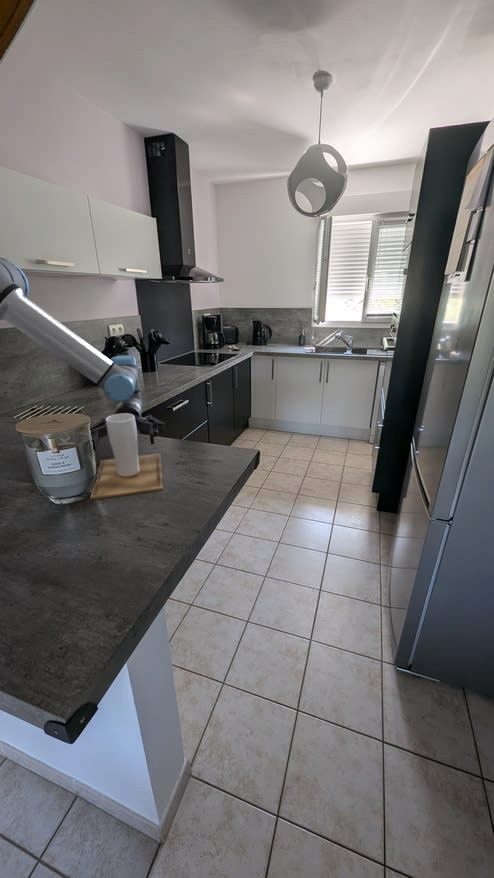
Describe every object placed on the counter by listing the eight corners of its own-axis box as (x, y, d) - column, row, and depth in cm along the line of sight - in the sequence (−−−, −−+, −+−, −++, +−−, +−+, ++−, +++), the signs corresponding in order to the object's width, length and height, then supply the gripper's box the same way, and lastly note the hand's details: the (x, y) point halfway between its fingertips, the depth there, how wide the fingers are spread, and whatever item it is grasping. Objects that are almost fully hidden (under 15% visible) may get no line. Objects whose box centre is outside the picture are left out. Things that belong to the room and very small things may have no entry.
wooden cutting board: (101, 462, 98) (100, 459, 98) (160, 455, 102) (160, 453, 102) (90, 500, 80) (89, 497, 80) (162, 490, 84) (162, 487, 84)
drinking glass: (132, 481, 87) (123, 423, 81) (109, 477, 89) (98, 420, 83) (148, 468, 93) (140, 414, 87) (126, 465, 95) (117, 412, 89)
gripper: (172, 423, 109) (176, 450, 90) (85, 431, 104) (71, 462, 85) (169, 399, 107) (173, 422, 88) (80, 406, 101) (64, 433, 82)
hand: (123, 442), depth 86 cm, fingers open, 13 cm apart
